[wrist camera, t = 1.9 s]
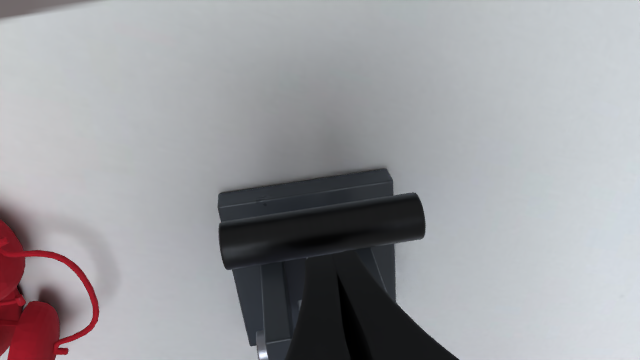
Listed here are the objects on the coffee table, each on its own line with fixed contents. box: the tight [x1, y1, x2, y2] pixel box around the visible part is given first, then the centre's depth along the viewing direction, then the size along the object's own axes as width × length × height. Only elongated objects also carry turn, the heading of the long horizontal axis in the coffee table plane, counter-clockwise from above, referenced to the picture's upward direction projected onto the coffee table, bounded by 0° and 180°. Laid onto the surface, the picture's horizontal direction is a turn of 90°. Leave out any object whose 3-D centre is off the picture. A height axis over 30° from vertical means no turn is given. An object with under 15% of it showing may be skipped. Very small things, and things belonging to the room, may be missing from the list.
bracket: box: [218, 169, 396, 360], centre depth 23 cm, size 9×8×7 cm
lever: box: [219, 193, 425, 311], centre depth 19 cm, size 10×6×2 cm, turn 5°
